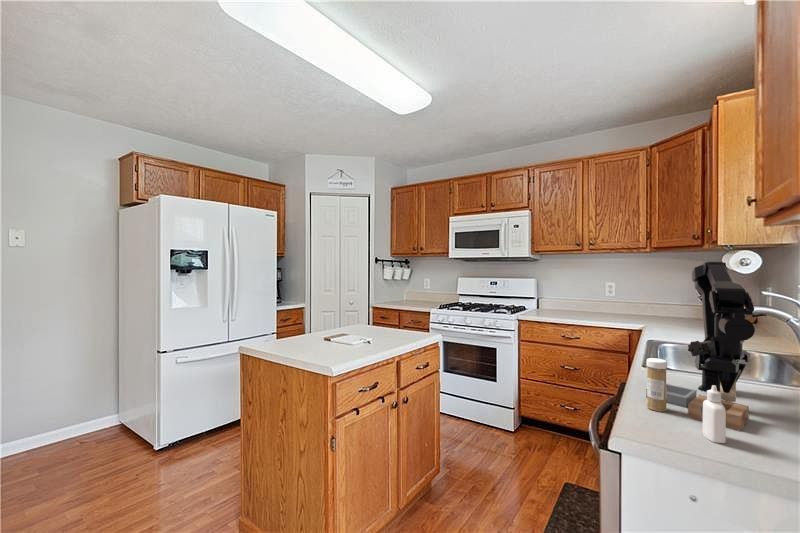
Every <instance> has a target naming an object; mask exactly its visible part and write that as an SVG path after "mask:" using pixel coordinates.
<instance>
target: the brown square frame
mask: <svg viewBox="0 0 800 533" xmlns="http://www.w3.org/2000/svg"><path fill="white" fill-rule="evenodd" d="M704 400H707V395H701V394H698V395H696V398H695V399H694V400H692V401H691V402H690V403H689V404H688V407H687V418H689V419H693V420H695V421H696V420H697V421H700V422H703V401H704ZM721 403H722V404H723V406H724V407H725V411H726V429H729V430H733V431H737V432H740V431H742V430H743V428H744V426H745V425H746V424H747V423H748V421H749V418H750V414H749V413H750V406H749V405H745V404H743V403H736V402H730V401H725V400H722V399H721Z"/></svg>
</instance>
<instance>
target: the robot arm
mask: <svg viewBox="0 0 800 533" xmlns="http://www.w3.org/2000/svg"><path fill="white" fill-rule="evenodd" d="M728 270H729V269H728V267H727V264H726V262H723V261H706V262H705V261H704V262H703V264H701V265H698V266H695V267H694V268H693V269H692V271H691V281H692V282H694V289H695V290H696V291H697V292H698V293H699V294H700V295H701V302H702V303H701V304H702V318H703V329H704V330H703V331H704V340H703V341H699V340H696V341H690V343H689V344H688V345H687V351H688V352H689V353H690V354H691V356H692V357H695V359H694V362H695V368H696V369H697V370H698V371H701V385H699V386H698V387H697V390H701V391H704V392H707V391H708V390H711V388H712V385H715V386H716V388H717V391H719V392H720V382H721V386H722V389H723V392H725V393H729V392H730V390H731V388H732V386H733V384H734V383H735V381H736V383H737V382H738V380H739V379H740V377H741V376H742V373H743V372H744V370H745V368H746V367H747V364H745V363H749V362H751V353H749V352H748V351H747V350H744V349H743V343H744V342H745V341H748V340H749V339H751V338H752V337H753V336H754V335H755V332H756V328H755V327H754V324H753V323H752V322H751V320H749V319H747V318H746V317H745V316H753V315H754V310H755V306H754V302H753V300H752V297H751V295H750V294H749V292H748V291H747V290H746V289H745V287H744V286H743V285H741V284H738V283H736V282H733V280H732V277H731V276H730V274H729V272H728ZM740 360H742V361H745V363H740Z"/></svg>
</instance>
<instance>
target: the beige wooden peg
mask: <svg viewBox="0 0 800 533" xmlns="http://www.w3.org/2000/svg"><path fill="white" fill-rule="evenodd" d="M720 393H721V400H724V401H729V402H733V403H736V402H737V400H736V399H737V394H736V393H737V382H736V381H735V383H734V384H733V386H732V388H731V390H730V392H729V393H725V392H723V389H722V386H721V382H720Z"/></svg>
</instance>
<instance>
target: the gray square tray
mask: <svg viewBox="0 0 800 533" xmlns="http://www.w3.org/2000/svg"><path fill="white" fill-rule="evenodd" d="M666 387H667V398H666V404H670V405H673V406H674V405H675V406H677V407H682V408H688V404H689V403H690V402H691V401H692V400H694V399H695V398H696V397H697V396H698V395H697V393H698V392H697V390H698V389H692V388H688V387H687V388H686V387H683V386H679V385H673V384H669V383H666ZM645 395H646V396H645V398H646V399H647V388H646V391H645Z"/></svg>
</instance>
